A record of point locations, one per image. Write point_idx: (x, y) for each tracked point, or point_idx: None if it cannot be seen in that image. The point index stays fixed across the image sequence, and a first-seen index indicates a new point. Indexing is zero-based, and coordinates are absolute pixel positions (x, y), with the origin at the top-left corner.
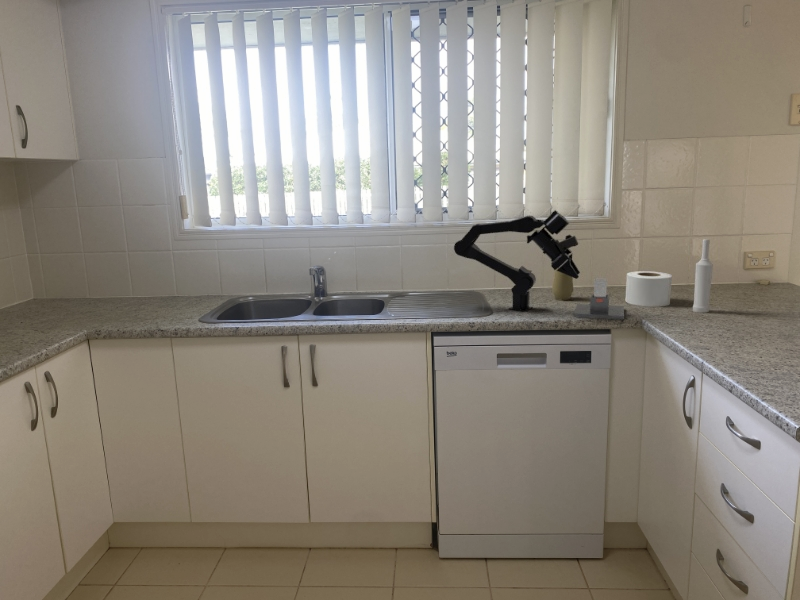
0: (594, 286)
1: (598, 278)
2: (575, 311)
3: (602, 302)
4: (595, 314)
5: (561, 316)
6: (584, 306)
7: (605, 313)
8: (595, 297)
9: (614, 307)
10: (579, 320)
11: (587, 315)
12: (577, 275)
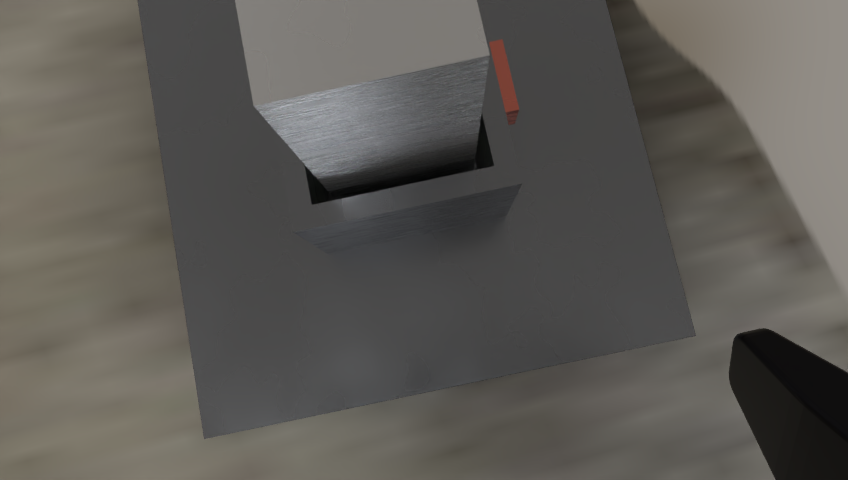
0: (481, 98)
1: (273, 30)
2: (594, 348)
3: None
4: (638, 129)
5: (719, 459)
6: (309, 327)
7: (549, 56)
8: (494, 127)
9: (242, 43)
10: (797, 247)
11: (656, 205)
12: (811, 356)
